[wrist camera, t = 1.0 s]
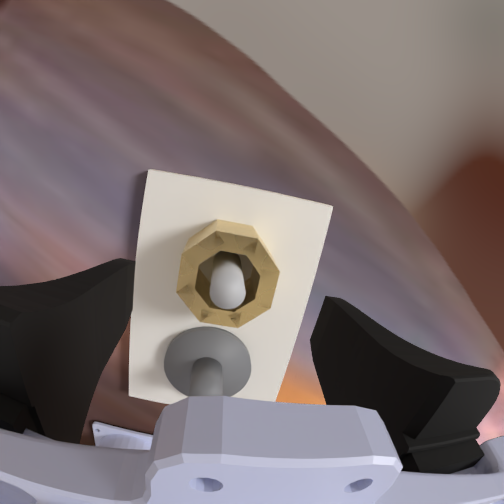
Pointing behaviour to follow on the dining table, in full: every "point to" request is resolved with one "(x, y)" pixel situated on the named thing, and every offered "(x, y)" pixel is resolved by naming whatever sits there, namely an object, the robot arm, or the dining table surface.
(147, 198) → the assembly board
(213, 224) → the brass collar
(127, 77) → the dining table surface
